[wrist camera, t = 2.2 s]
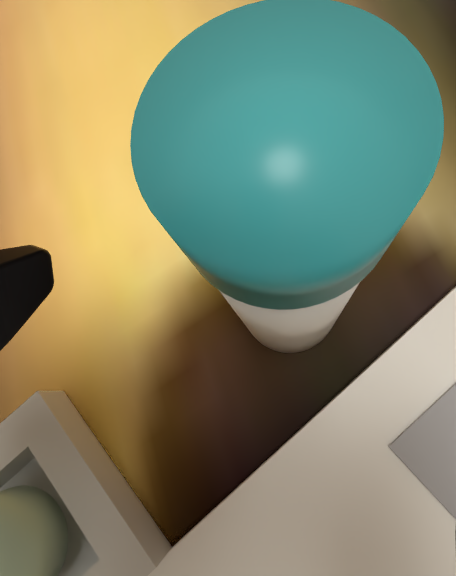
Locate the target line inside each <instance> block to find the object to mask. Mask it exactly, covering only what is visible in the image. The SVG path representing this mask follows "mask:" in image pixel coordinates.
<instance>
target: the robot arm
mask: <svg viewBox="0 0 456 576" xmlns="http://www.w3.org/2000/svg"><path fill="white" fill-rule="evenodd" d="M53 285H54V278H53V269H52V261H51V255H50V253H49V252H48V251H47V250H45V249H42V248H39V247H37V246H33V245H26V246H20V247H14V248H8V249H2V250H0V351H1V350H2V349H3V347H4V346H5V345H6V344H7V343H8V342H9V341H10V340H11V339H12V338H13V337H14V335H15V334H16V333H17V332H18V331H19V330H20V328H21V327H22V326H23V325H24V324H25V322H26V321H27V320H28V319H29V318H30V316H31V315H32V314H33V313H34V311H35V310H36V309H37V308H38V307H39V305H40V304H41V303H42V302H43V301H44V299H45V298H46V297H47V296H48V295H49V293H50V292H51V290H52V288H53ZM455 541H456V529H455Z"/></svg>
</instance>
